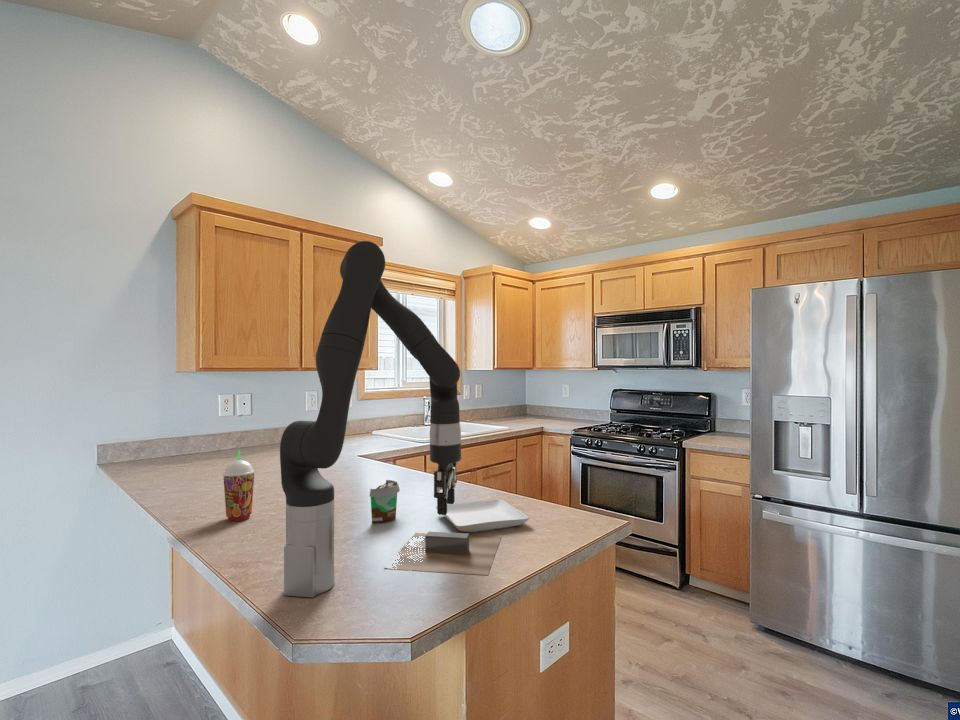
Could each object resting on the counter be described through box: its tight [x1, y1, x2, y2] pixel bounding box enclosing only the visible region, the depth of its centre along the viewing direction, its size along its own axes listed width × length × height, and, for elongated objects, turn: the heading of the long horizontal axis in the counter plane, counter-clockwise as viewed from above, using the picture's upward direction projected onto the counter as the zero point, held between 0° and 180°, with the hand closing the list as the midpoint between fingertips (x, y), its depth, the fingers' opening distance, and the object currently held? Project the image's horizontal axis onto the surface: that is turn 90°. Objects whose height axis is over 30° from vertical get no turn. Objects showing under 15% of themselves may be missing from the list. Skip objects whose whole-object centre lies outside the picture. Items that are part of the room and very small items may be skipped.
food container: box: [369, 479, 400, 525], centre depth 140 cm, size 12×6×10 cm, turn 168°
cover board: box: [392, 531, 502, 576], centre depth 114 cm, size 23×23×5 cm
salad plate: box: [436, 498, 530, 533], centre depth 137 cm, size 21×21×3 cm
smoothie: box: [222, 450, 256, 522], centre depth 142 cm, size 8×8×20 cm
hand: (446, 508), depth 115 cm, fingers open, 8 cm apart
